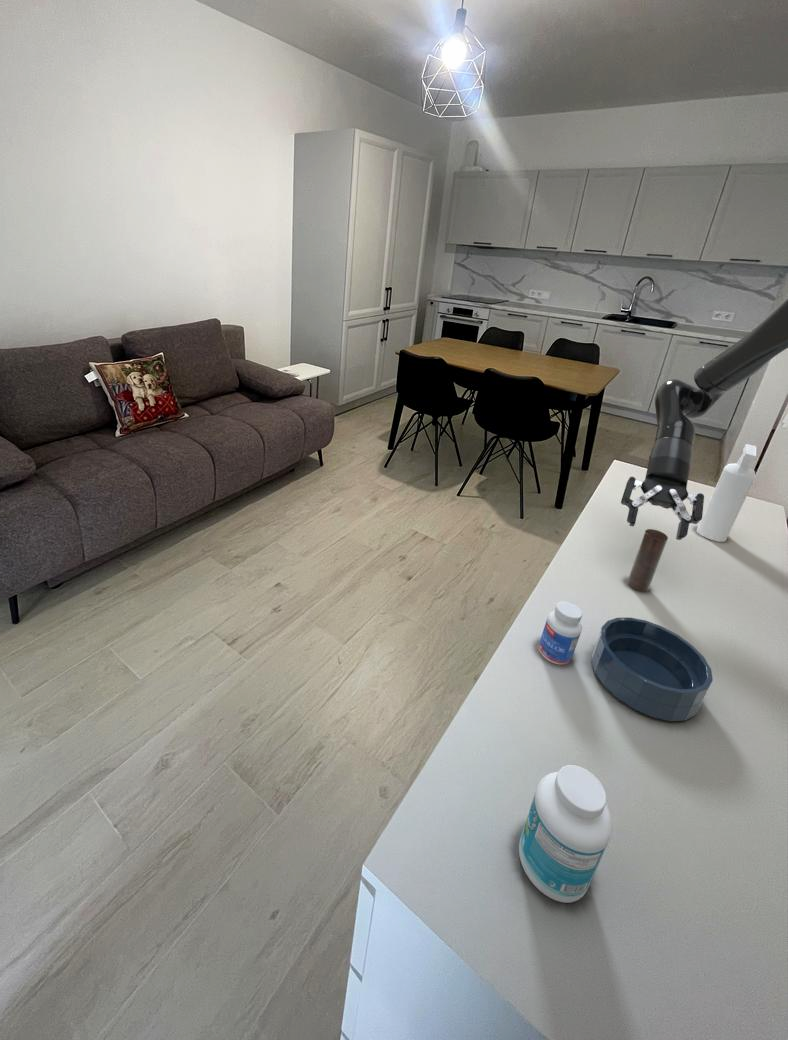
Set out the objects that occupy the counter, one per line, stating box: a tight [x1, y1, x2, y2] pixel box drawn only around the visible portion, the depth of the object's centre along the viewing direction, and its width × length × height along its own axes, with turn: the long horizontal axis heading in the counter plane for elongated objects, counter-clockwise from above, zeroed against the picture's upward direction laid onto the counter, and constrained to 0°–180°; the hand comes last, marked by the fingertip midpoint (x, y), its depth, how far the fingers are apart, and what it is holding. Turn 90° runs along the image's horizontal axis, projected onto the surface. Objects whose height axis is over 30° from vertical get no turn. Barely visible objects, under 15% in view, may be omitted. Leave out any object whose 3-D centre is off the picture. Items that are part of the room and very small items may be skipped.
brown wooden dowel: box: [626, 528, 669, 593], centre depth 103 cm, size 4×4×13 cm
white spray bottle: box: [696, 443, 757, 543], centre depth 123 cm, size 7×12×25 cm, turn 141°
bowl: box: [591, 617, 714, 722], centre depth 80 cm, size 15×15×6 cm
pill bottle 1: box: [538, 600, 583, 666], centre depth 84 cm, size 6×5×10 cm
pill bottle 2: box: [518, 764, 613, 904], centre depth 53 cm, size 8×7×14 cm
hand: (655, 531), depth 102 cm, fingers open, 8 cm apart
